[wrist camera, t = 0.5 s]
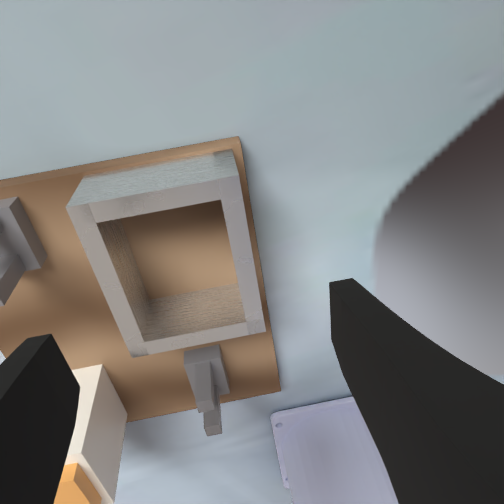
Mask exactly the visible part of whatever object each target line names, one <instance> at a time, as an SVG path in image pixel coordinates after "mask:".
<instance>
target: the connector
mask: <svg viewBox="0 0 504 504" xmlns="http://www.w3.org/2000/svg"><path fill="white" fill-rule="evenodd" d="M72 372H73V374H74V376H75V378H76V380H77V381H78V383H79V385H80V394H79V403H78V410H77V417H76V423H75V428H74V432H73V436H72V439H71V443H70V447H69V450H68V454H67V458H66V461H65V465H64V468H63V472H62V475H61V479H60V483H59V486H58V490H57V493H56V497H55V500H54V504H111V503H114V500H115V494H116V487H117V481H118V474H119V467H120V461H121V454H122V447H123V441H124V434H125V427H126V421H127V412H126V410H125V408H124V406H123V404H122V402H121V400H120V398H119V396H118V394H117V392H116V390H115V388H114V386H113V384H112V382H111V380H110V378H109V376H108V374H107V372H106V370H105V368H104V366H103V364H100V365H95V366H90V367H85V368H80V369H75V370H72Z"/></svg>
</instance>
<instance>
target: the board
mask: <svg viewBox="0 0 504 504" xmlns="http://www.w3.org/2000/svg"><path fill="white" fill-rule="evenodd" d="M226 149H232V151H233V155H234V159H235V162H236V166H237V170H238V174H239V179H240V184H241V190H242V196H243V202H244V208H245V213H246V219H247V225H248V231H249V236H250V242H251V248H252V254H253V259H254V265H255V271H256V277H257V283H258V288H259V294H260V300H261V306H262V311H263V317H264V323H265V329H266V332H261V333H256V334H251V335H246V336H241V337H236V338H231V339H226V340H221V341H216V342H211V343H206V344H201V345H196V346H191V347H186V348H181V349H176V350H171V351H166V352H161V353H155V354H150V355H145V356H140V357H135V358H132V357H131V355H130V353H129V351H128V348H127V346H126V344H125V341H124V339H123V337H122V335H121V332H120V330H119V328H118V326H117V323H116V321H115V319H114V317H113V314H112V312H111V310H110V307H109V305H108V303H107V301H106V298H105V296H104V294H103V292H102V289H101V287H100V285H99V282H98V280H97V278H96V276H95V273H94V271H93V269H92V267H91V264H90V262H89V260H88V258H87V255H86V253H85V251H84V248H83V246H82V244H81V242H80V239H79V237H78V235H77V233H76V230H75V228H74V226H73V223H72V221H71V219H70V217H69V214H68V212H67V210H66V208H65V207H66V206H67V204H68V202H69V201H70V199H71V197H72V196H73V194H74V192H75V190H76V189H77V187H78V185H79V184H80V182H81V180H82V179H83V177H84V176H86V175H91V174H96V173H102V172H107V171H113V170H118V169H123V168H129V167H134V166H140V165H145V164H150V163H156V162H161V161H167V160H172V159H178V158H183V157H188V156H194V155H199V154H205V153H210V152H215V151H221V150H226ZM12 197H18V198H19V200H20V202H21V204H22V206H23V208H24V210H25V212H26V213H27V215H28V217H29V219H30V221H31V223H32V225H33V227H34V229H35V231H36V233H37V235H38V237H39V239H40V241H41V243H42V245H43V247H44V249H45V251H46V253H47V255H48V256H47V258H46V260H45V262H44V264H43V266H42V267H41V268H39V269H34V270H29V271H25V272H24V274H23V275H22V277H21V279H20V280H19V282H18V284H17V285H16V287H15V289H14V290H13V292H12V294H11V295H10V297H9V299H8V300H7V302H6V304H5V305H4V306H1V307H0V350H1V352H2V353H3V355H4V356H5V358H7V357H8V356H9V355H10V354H11V353H12V352H13V351H14V350H15V349H16V348H17V347H18V346H19V345H20V344H21V343H23V342H24V341H25V340H26V339H27V338H30V337H35V336H41V335H46V334H52V335H53V337H54V339H55V341H56V343H57V345H58V346H59V348H60V350H61V352H62V354H63V356H64V358H65V359H66V361H67V363H68V365H69V367H70V369H71V370H75V369H80V368H85V367H90V366H95V365H100V364H103V366H104V368H105V370H106V372H107V374H108V376H109V378H110V380H111V382H112V384H113V386H114V388H115V390H116V392H117V394H118V396H119V398H120V400H121V402H122V404H123V406H124V408H125V410H126V412H127V421H126V423H127V422H132V421H136V420H141V419H146V418H151V417H156V416H161V415H166V414H171V413H176V412H181V411H186V410H191V409H196V408H197V406H196V403H195V396H194V393H193V391H192V388H191V385H190V382H189V379H188V376H187V373H186V370H185V367H184V351H188V350H193V349H198V348H203V347H208V346H213V345H218V344H219V345H220V349H221V353H222V357H223V361H224V364H225V368H226V372H227V376H228V379H229V389H230V393H229V394H224V395H219V396H220V403H225V402H230V401H235V400H240V399H245V398H250V397H255V396H260V395H265V394H270V393H275V392H280V391H281V387H280V381H279V375H278V369H277V363H276V357H275V350H274V344H273V338H272V332H271V326H270V320H269V314H268V308H267V302H266V295H265V289H264V283H263V277H262V271H261V265H260V259H259V253H258V246H257V240H256V234H255V228H254V222H253V216H252V210H251V204H250V198H249V191H248V185H247V179H246V173H245V167H244V161H243V155H242V149H241V143H240V140H239V137H238V136H237V137H231V138H226V139H221V140H215V141H210V142H204V143H199V144H193V145H188V146H183V147H177V148H172V149H166V150H161V151H155V152H150V153H145V154H139V155H134V156H128V157H123V158H117V159H112V160H107V161H101V162H96V163H90V164H85V165H79V166H74V167H69V168H63V169H58V170H52V171H47V172H41V173H36V174H31V175H25V176H20V177H14V178H9V179H3V180H0V200H1V199H7V198H12ZM120 219H121V222H122V225H123V227H124V230H125V233H126V236H127V238H128V241H129V244H130V247H131V249H132V252H133V255H134V258H135V260H136V263H137V266H138V269H139V271H140V274H141V277H142V279H143V282H144V285H145V288H146V290H147V293H148V296H149V299H150V300H152V299H157V298H162V297H167V296H172V295H177V294H183V293H188V292H193V291H198V290H203V289H208V288H213V287H219V286H224V285H229V284H234V283H238V280H237V275H236V270H235V265H234V261H233V256H232V251H231V246H230V241H229V236H228V231H227V227H226V222H225V217H224V212H223V207H222V202H221V200H215V201H210V202H205V203H199V204H194V205H189V206H184V207H178V208H173V209H168V210H162V211H157V212H152V213H146V214H141V215H136V216H130V217H125V218H120Z"/></svg>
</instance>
